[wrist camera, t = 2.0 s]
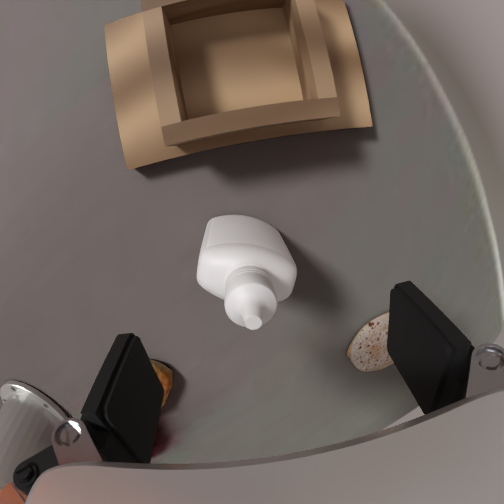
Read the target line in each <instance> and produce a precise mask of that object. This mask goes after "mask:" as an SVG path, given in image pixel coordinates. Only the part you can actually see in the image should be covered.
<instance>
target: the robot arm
mask: <svg viewBox="0 0 504 504" xmlns="http://www.w3.org/2000/svg"><path fill="white" fill-rule="evenodd" d="M387 351H388V354H389V356H390V357H391V359H392V360H393V362H394V364H395V365H396V367H397V369H398V370H399V372H400V374H401V375H402V377H403V379H404V380H405V382H406V384H407V385H408V387H409V389H410V390H411V392H412V394H413V396H414V397H415V399H416V401H417V402H418V404H419V406H420V408H421V409H422V411H423V413H424V414H425V415H424V416H421V417H418V418H416V419H413V420H411V421H408V422H405V423H402V424H399V425H397V426H394V427H391V428H388V429H385V430H382V431H379V432H376V433H373V434H369V435H366V436H363V437H359V438H356V439H352V440H348V441H345V442H341V443H337V444H333V445H329V446H324V447H320V448H315V449H311V450H306V451H301V452H296V453H290V454H284V455H278V456H272V457H265V458H257V459H249V460H240V461H229V462H216V463H197V464H149V463H150V461H151V456H152V450H153V445H154V440H155V435H156V430H157V426H158V421H159V416H160V411H161V407H162V402H163V398H164V388H163V385H162V383H161V381H160V380H159V378H158V376H157V374H156V372H155V370H154V368H153V366H152V363H151V361H150V359H149V357H148V355H147V353H146V351H145V349H144V347H143V344H142V342H141V340H140V338H139V337H138V336H135V335H134V334H133V333H127V334H119V335H118V336H117V337H116V339H115V341H114V343H113V345H112V347H111V349H110V351H109V353H108V355H107V357H106V359H105V361H104V363H103V365H102V367H101V369H100V371H99V374H98V376H97V378H96V380H95V382H94V384H93V386H92V389H91V391H90V393H89V395H88V397H87V400H86V402H85V404H84V406H83V409H82V411H81V414H82V417H81V419H78V418H68V417H67V416H66V414H65V413H64V412H63V411H62V410H61V409H60V408H59V406H57V405H56V404H55V403H54V402H53V401H52V400H51V399H49V398H48V397H47V396H45V395H44V394H43V393H41V392H40V391H38V390H36V389H35V388H33V387H31V386H29V385H27V384H25V383H22V382H19V381H12V380H11V381H7V382H5V383H4V384H3V386H2V387H1V390H0V395H1V399H2V401H3V403H4V404H3V406H2V407H1V409H0V504H504V349H503V348H502V347H501V346H499V345H496V344H492V343H484V344H480V345H479V346H477V347H476V348H474V347H473V346H472V345H471V342H470V341H469V340H468V339H467V338H466V336H465V335H464V334H463V333H462V332H461V331H460V330H459V329H458V328H457V327H456V326H455V325H454V324H453V323H452V322H451V321H450V320H449V319H448V318H447V317H446V316H445V315H444V313H443V312H442V311H441V310H440V309H439V308H438V307H437V306H436V305H435V304H434V303H433V302H432V301H431V300H430V299H428V298H427V297H426V296H425V295H424V294H423V293H422V292H421V291H420V290H419V289H418V288H417V287H416V286H415V285H414V284H413V283H412V282H411V281H406V282H402V283H398V284H396V285H395V286H394V289H392V290H391V293H390V310H389V324H388V336H387Z"/></svg>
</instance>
